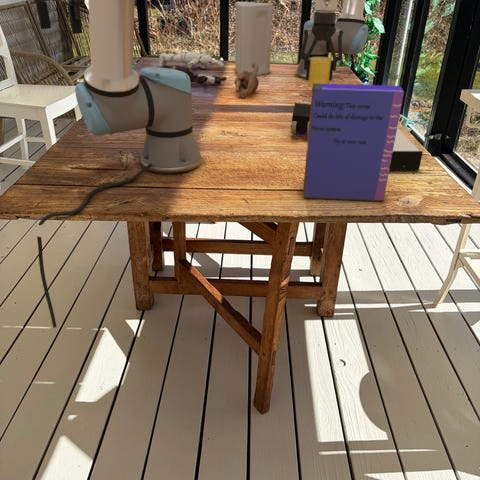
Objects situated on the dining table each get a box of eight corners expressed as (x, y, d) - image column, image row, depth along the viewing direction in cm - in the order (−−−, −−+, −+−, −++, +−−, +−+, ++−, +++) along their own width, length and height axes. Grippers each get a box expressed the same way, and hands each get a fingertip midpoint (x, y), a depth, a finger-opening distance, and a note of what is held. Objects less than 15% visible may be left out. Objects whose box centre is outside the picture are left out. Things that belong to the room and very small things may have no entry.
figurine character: (312, 146, 139) (312, 125, 151) (314, 121, 134) (315, 101, 146) (289, 145, 139) (291, 123, 151) (290, 120, 135) (293, 100, 147)
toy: (179, 76, 209) (178, 59, 205) (154, 65, 226) (153, 50, 223) (226, 70, 221) (226, 54, 217) (199, 60, 238) (198, 45, 235)
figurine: (149, 84, 182) (227, 91, 186) (149, 62, 179) (229, 70, 183) (154, 81, 204) (223, 88, 208) (154, 62, 201) (225, 69, 205)
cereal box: (379, 191, 109) (398, 84, 97) (383, 201, 105) (404, 90, 93) (303, 188, 110) (312, 82, 98) (304, 197, 106) (314, 88, 94)
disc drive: (349, 170, 120) (352, 151, 117) (332, 140, 139) (334, 123, 137) (418, 171, 120) (423, 152, 118) (392, 140, 140) (395, 124, 137)
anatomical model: (248, 99, 191) (242, 101, 177) (232, 84, 190) (225, 85, 176) (269, 75, 187) (265, 74, 173) (253, 59, 186) (248, 57, 172)
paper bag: (273, 76, 210) (276, 6, 196) (239, 77, 209) (240, 6, 194) (266, 67, 226) (268, 2, 212) (235, 67, 225) (235, 1, 210)
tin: (312, 82, 182) (315, 55, 177) (331, 85, 179) (335, 58, 174) (303, 86, 177) (306, 58, 172) (323, 89, 173) (326, 61, 168)
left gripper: (91, -63, 113) (103, 33, 124) (29, -63, 126) (45, 25, 136) (64, -64, 108) (79, 37, 119) (2, -64, 120) (21, 27, 131)
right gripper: (295, 11, 163) (290, 80, 174) (356, 13, 161) (347, 82, 173) (295, 9, 169) (290, 76, 181) (354, 11, 168) (345, 78, 179)
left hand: (61, 31), depth 128 cm, fingers open, 13 cm apart
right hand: (318, 79), depth 177 cm, fingers closed on tin, 8 cm apart
